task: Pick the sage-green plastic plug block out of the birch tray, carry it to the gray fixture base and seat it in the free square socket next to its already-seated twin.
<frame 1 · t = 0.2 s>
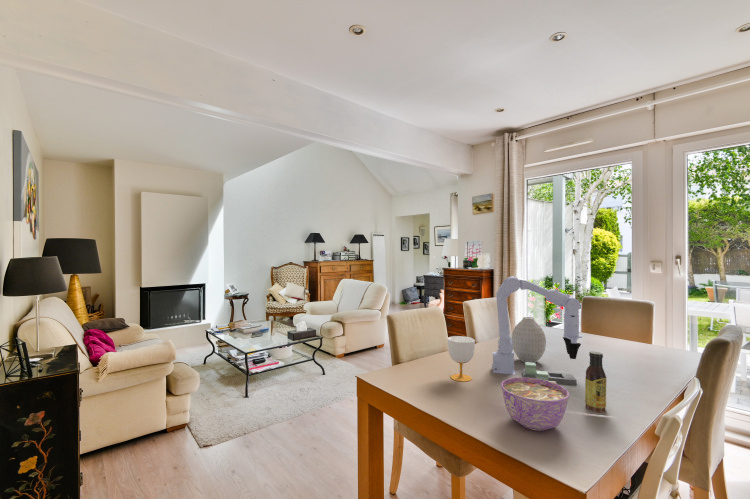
hand: (571, 356, 153), 10 cm above the table, tool pointing down, fingers open, 7 cm apart
gray fixture base: (548, 380, 152), on the table
vase: (528, 361, 179), on the table
sauce bottle: (595, 410, 124), on the table
bowl of food: (534, 425, 113), on the table
tray: (542, 389, 142), on the table
cup: (461, 378, 155), on the table
plug: (542, 387, 142), point 1 cm above the table, touching tray
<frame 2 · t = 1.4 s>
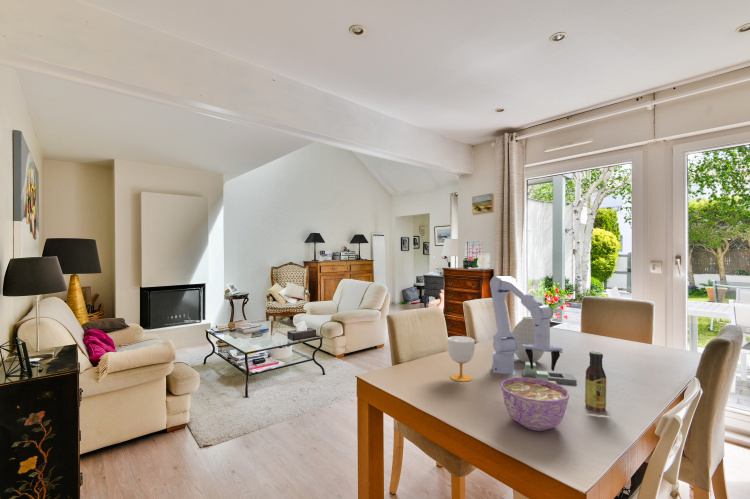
hand: (542, 369, 142), 8 cm above the table, tool pointing down, fingers open, 7 cm apart
nothing on the table moved.
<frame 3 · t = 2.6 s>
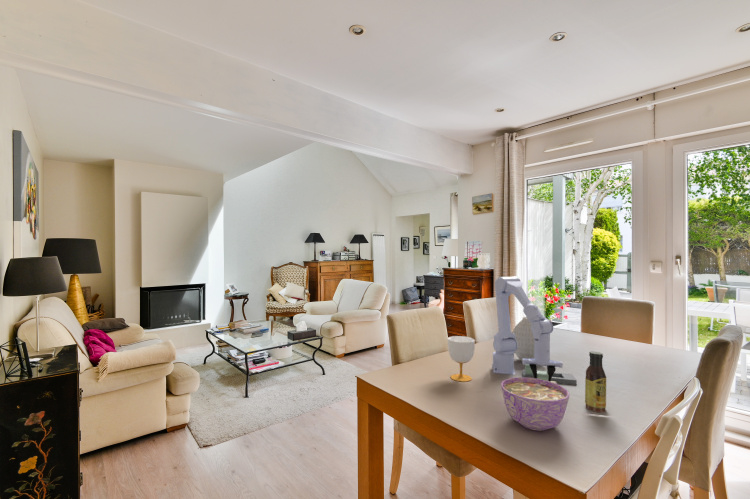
hand: (542, 383, 142), 2 cm above the table, tool pointing down, fingers closed on plug, 4 cm apart
plug: (542, 387, 142), point 1 cm above the table, touching gripper, tray
everything else where it was.
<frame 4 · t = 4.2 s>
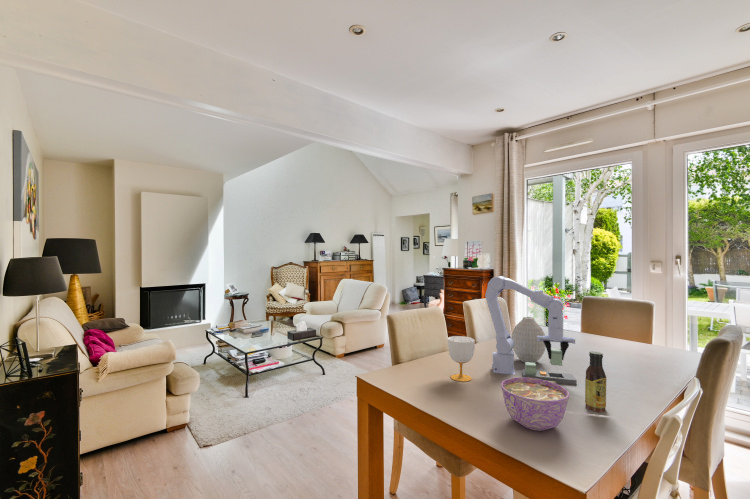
hand: (555, 358, 151), 9 cm above the table, tool pointing down, fingers closed on plug, 4 cm apart
plug: (556, 363, 151), point 7 cm above the table, touching gripper
everything else where it was.
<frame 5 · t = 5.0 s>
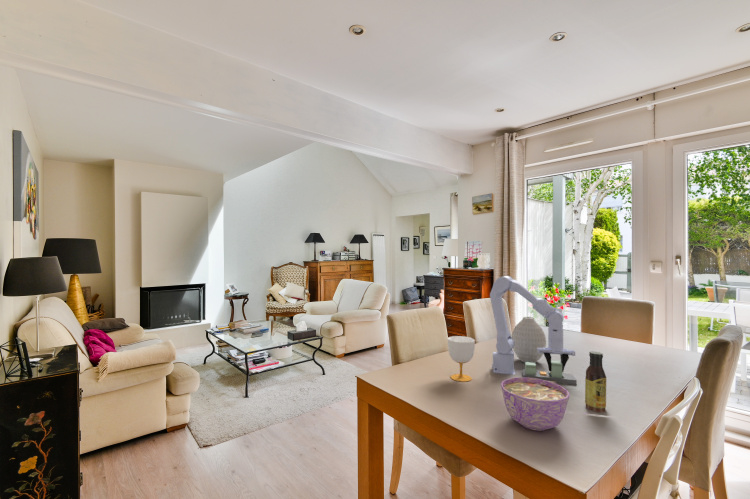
hand: (555, 371, 151), 4 cm above the table, tool pointing down, fingers closed on plug, 4 cm apart
plug: (556, 376, 151), point 2 cm above the table, touching gripper
everything else where it was.
when the fingers open (3 cm above the table, at t = 5.7 s): plug stays where it is, resting on gray fixture base.
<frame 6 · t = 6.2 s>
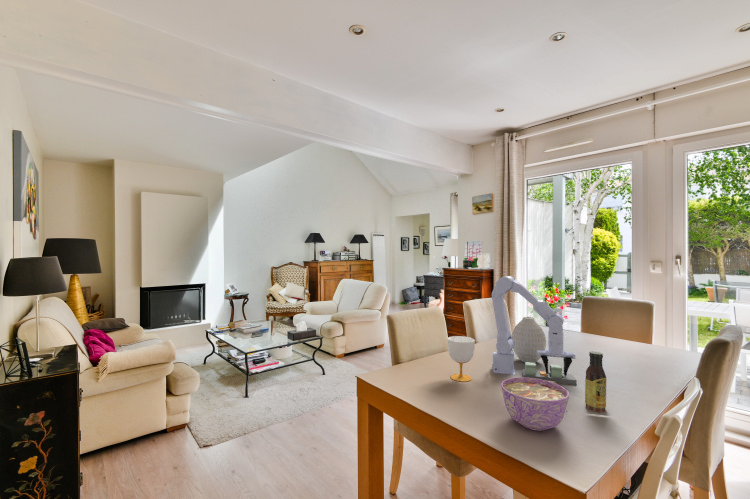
hand: (556, 374, 151), 3 cm above the table, tool pointing down, fingers open, 6 cm apart
plug: (555, 380, 151), resting on gray fixture base
everything else where it was.
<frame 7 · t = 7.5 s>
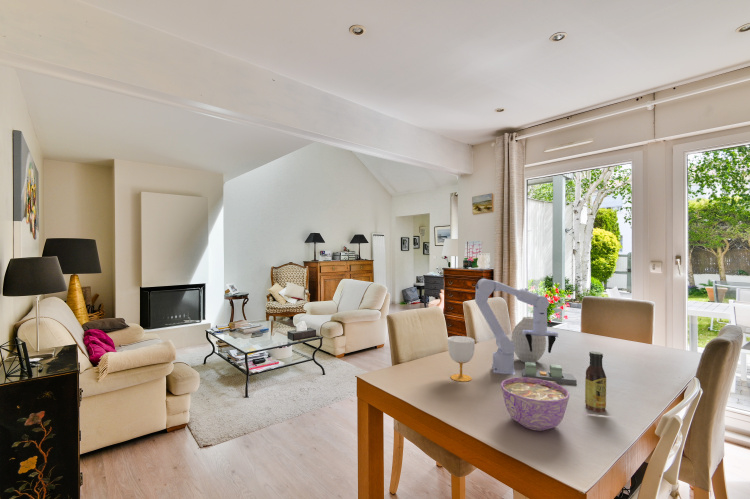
hand: (540, 351, 161), 10 cm above the table, tool pointing down, fingers open, 7 cm apart
nothing on the table moved.
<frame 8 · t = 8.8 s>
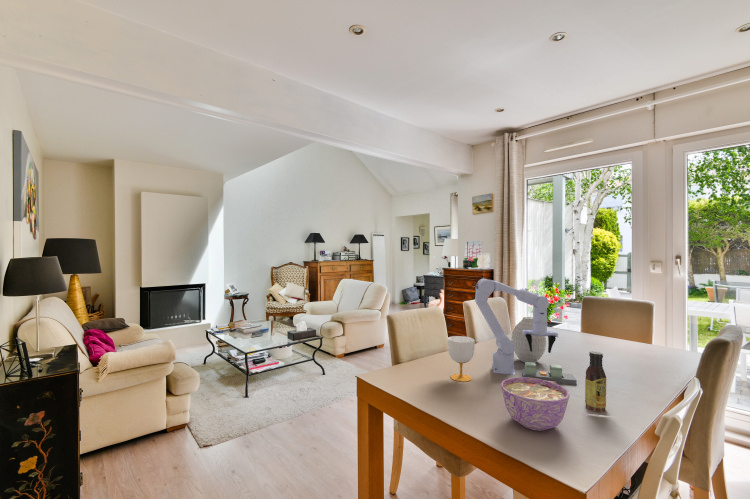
hand: (540, 351, 161), 10 cm above the table, tool pointing down, fingers open, 7 cm apart
nothing on the table moved.
at the end: plug 0.4 cm from the target spot on the gray fixture base, point 0.5 cm above the gray fixture base's base; plug tilted 0°; the gripper is holding nothing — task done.
